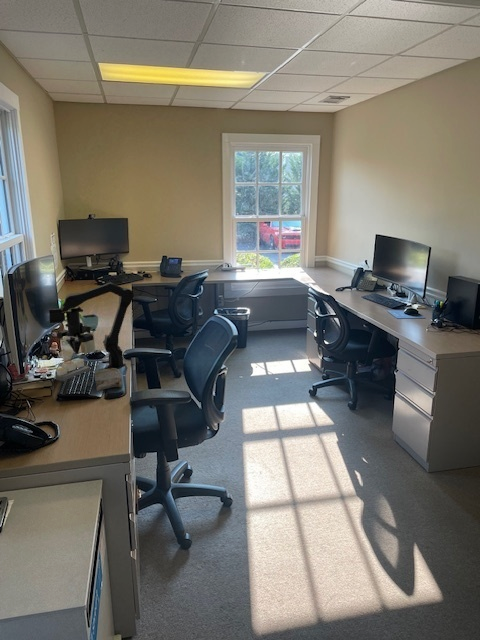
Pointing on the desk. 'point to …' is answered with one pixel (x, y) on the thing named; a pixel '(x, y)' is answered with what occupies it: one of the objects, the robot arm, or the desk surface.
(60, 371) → the key
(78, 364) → the key
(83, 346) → the skincare box
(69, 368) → the key
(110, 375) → the geological specimen
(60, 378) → the keypad base
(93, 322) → the flower pot
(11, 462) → the desk surface
